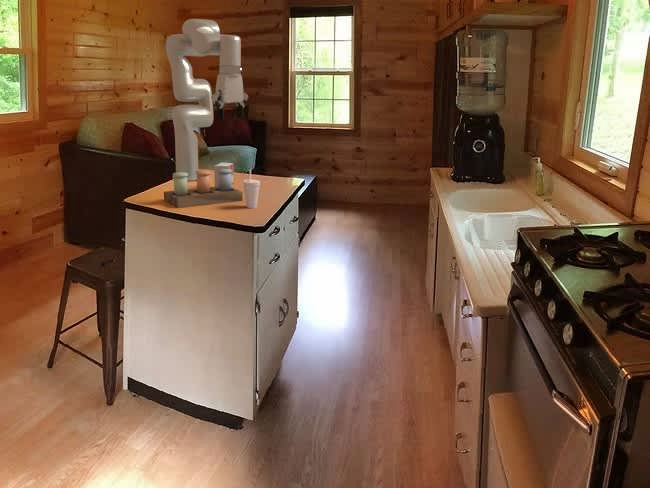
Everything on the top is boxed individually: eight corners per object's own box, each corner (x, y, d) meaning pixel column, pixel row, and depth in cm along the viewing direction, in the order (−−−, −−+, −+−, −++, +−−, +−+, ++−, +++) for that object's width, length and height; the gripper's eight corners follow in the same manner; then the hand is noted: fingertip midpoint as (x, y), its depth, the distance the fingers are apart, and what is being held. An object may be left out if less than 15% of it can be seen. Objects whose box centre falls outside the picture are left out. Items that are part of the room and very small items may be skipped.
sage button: (171, 193, 230) (170, 172, 228) (184, 192, 233) (184, 171, 231) (177, 196, 226) (176, 175, 223) (191, 195, 229) (190, 174, 227)
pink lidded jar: (193, 191, 235) (193, 171, 233) (206, 190, 238) (206, 170, 236) (200, 194, 231) (199, 173, 229) (213, 193, 234) (213, 172, 232)
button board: (164, 200, 233) (163, 191, 232) (226, 193, 248) (226, 185, 247) (178, 208, 223) (178, 198, 222) (242, 200, 238) (242, 191, 237)
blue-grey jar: (215, 189, 240) (215, 169, 238) (227, 188, 243) (227, 168, 241) (221, 192, 236) (221, 171, 234) (234, 190, 239) (234, 170, 237)
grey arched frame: (227, 192, 251) (227, 166, 248) (214, 191, 252) (214, 165, 249) (234, 188, 259) (234, 163, 256) (221, 187, 260) (221, 162, 257)
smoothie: (244, 204, 232) (244, 167, 228) (261, 205, 232) (261, 168, 228) (241, 208, 226) (241, 170, 222) (259, 209, 226) (259, 171, 222)
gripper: (240, 70, 235) (240, 116, 240) (204, 70, 222) (205, 119, 227) (254, 71, 230) (254, 118, 235) (218, 71, 217) (219, 121, 222)
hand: (230, 118), depth 231 cm, fingers open, 9 cm apart
